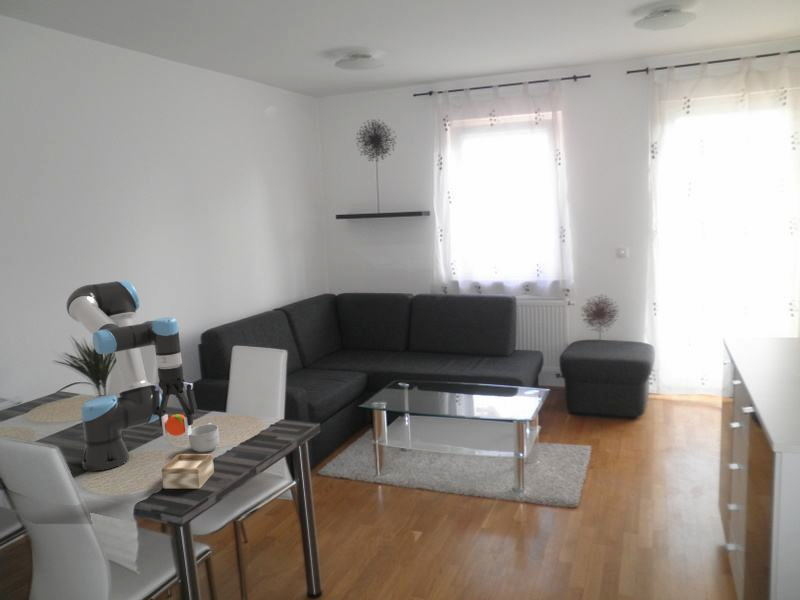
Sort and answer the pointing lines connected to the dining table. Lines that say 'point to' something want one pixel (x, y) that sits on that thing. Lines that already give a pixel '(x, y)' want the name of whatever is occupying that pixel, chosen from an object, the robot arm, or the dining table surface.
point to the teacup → (204, 437)
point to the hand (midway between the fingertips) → (177, 434)
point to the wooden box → (188, 471)
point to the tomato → (175, 425)
